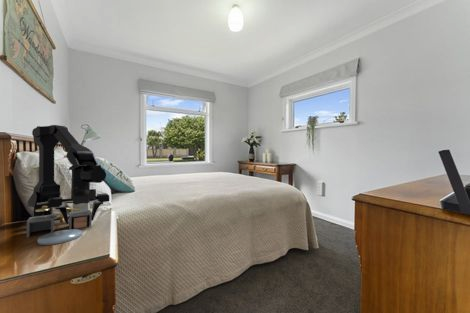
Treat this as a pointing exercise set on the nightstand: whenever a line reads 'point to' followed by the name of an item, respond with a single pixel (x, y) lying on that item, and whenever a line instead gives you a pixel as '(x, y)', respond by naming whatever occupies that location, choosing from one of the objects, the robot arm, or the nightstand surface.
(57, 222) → the balance
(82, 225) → the block
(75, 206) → the skincare box
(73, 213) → the covering hood
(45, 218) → the empty hood
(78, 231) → the dish
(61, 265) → the nightstand surface
